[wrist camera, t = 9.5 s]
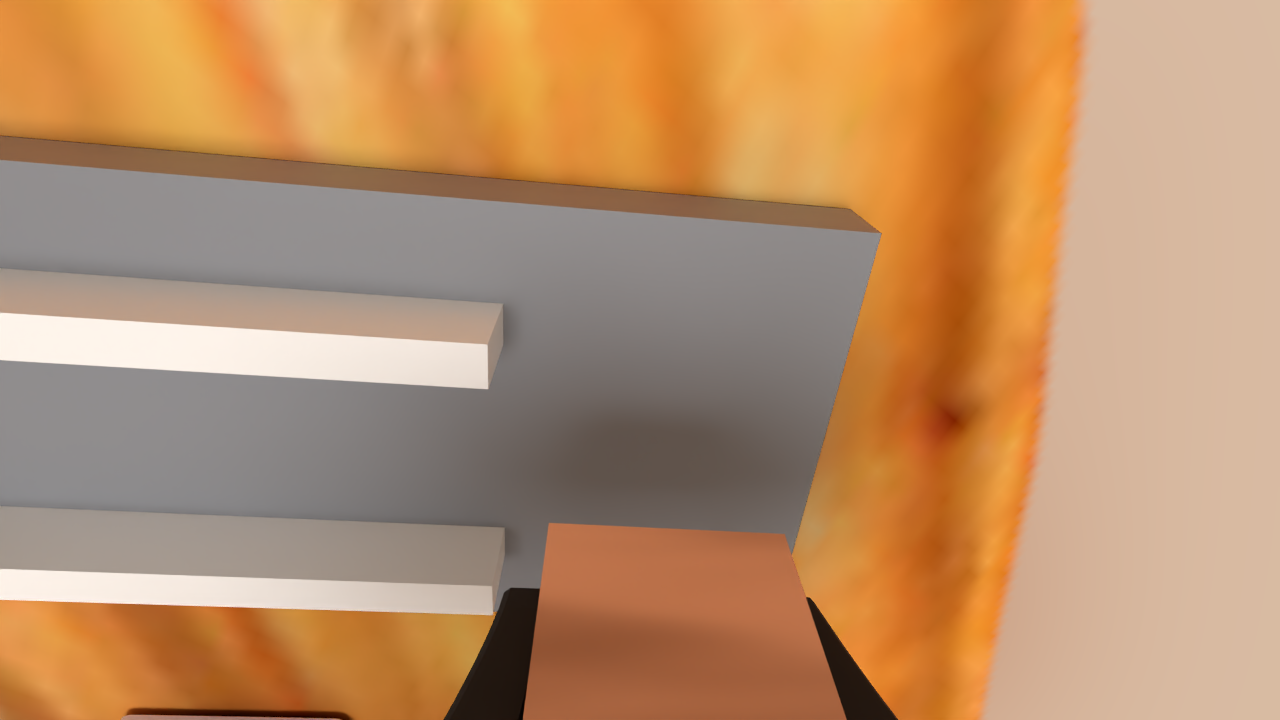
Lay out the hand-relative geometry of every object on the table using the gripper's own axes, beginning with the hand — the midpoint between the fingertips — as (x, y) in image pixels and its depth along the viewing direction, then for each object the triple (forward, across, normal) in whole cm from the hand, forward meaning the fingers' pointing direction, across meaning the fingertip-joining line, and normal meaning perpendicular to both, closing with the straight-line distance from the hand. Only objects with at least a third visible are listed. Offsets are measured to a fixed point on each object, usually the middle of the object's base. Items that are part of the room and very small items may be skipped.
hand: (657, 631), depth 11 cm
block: (0, 0, 0) cm, 0 cm away
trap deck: (+7, +10, 0) cm, 12 cm away
